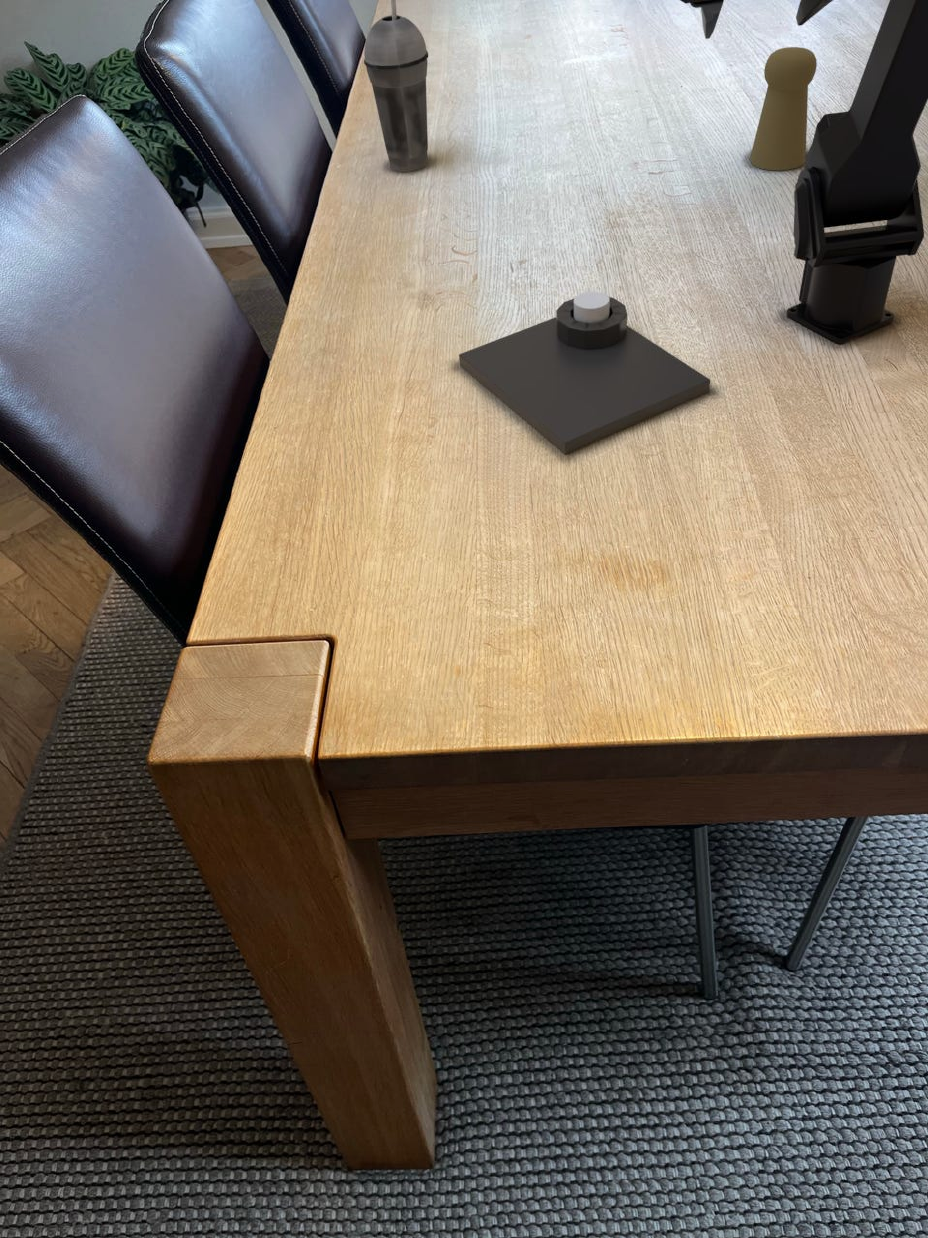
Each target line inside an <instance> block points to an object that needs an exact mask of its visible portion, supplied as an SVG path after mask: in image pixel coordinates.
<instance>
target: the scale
mask: <svg viewBox="0 0 928 1238" xmlns="http://www.w3.org/2000/svg"><path fill="white" fill-rule="evenodd" d="M608 297H609V299H610V305H609V318H608V319H606V320H604V321H601V322H598V323H584V322H579V321H576V320H575V319H574V298H571V299H568V300H566V301H564V302H562V304H561V305H560V306H559V307H558V308H557V309H556V311H555V317H551V318H550V319H548V320H544V321H542V322H539V323H537V324H534V325H532V326H528V327H527V328H524V329H521V330H519V331H515V332H514V333H511V334H508V335H506V336H503V337H501V338H498V339H495V340H493V341H490V342H487V343H485V344H483V345H480V346H477V347H475V348H471V349H470V350H467V351H464V352H462V353H459V354H458V360H459V366H460V368H462V369H463V370H464V371H465V372H466V373H468V374H469V376H471V377H472V378H474V380H476V381H477V382H479V384H480V385H481V386H483V387H484V388H485V389H486V390H488V392H490V393H491V394H492V395H494V396H495V397H496V398H497V399H498V400H500V402H502V404H504V405H505V406H506V407H507V408H509V409H510V410H511V411H512V412H514V413H515V414H516V415H517V416H518V417H519V418H521V419H522V420H523V421H524V422H526V424H528V425H529V426H530V427H531V428H533V429H534V430H535V431H536V432H537V433H539V434H540V435H541V436H542V437H543V438H544V439H545V440H546V441H548V442H549V443H550V444H551V445H553V446H554V447H555V448H556V449H557V450H559V451H560V452H561V453H562V454H563V455H564V456H566V455H568V454H571V453H573V452H575V451H577V450H580V449H582V448H584V447H587V446H590V445H592V444H594V443H596V442H598V441H600V440H603V439H605V438H607V437H610V436H612V435H614V434H617V433H619V432H621V431H623V430H626V429H628V428H630V427H632V426H635V425H637V424H640V423H642V422H644V421H646V420H649V419H651V418H653V417H656V416H658V415H660V414H663V413H664V412H667V411H670V410H672V409H674V408H676V407H678V406H680V405H683V404H685V403H688V402H689V401H692V400H694V399H696V398H699V397H701V396H703V395H705V394H708V393H709V392H710V386H711V379H710V378H708V377H707V376H705V375H704V374H702V373H701V372H699V371H697V370H696V369H695V368H693V367H692V366H690V365H688V364H687V363H685V362H684V361H682V360H681V359H680V358H678V357H676V356H675V355H673V354H671V353H670V352H669V351H667V350H665V349H664V348H663V347H661V346H659V345H658V344H656V343H655V342H653V341H651V340H650V339H649V338H647V337H646V336H644V335H643V334H641V333H639V332H638V331H636V330H635V329H633V328H632V327H630V326H629V325H628V311H627V307H626V305H625V304H624V303H623V302H621V301H620V300H618V299H616V298H614V297H611V296H608Z"/></svg>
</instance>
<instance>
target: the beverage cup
mask: <svg viewBox="0 0 928 1238" xmlns="http://www.w3.org/2000/svg"><path fill="white" fill-rule="evenodd" d="M390 6H391V7H390V8H391V14H390V15H386V16H382V18H380V19H378V20H377V21H376V22H375V23H374V24H373V25H372V26H371V28H370V29H369V31H368V33H367V36H366V39H365V44H364V59H363V64H364V65H365V68H366V73H367V76H368V79H369V82H370V84H371V86H372V91H373V95H374V100H375V105H376V110H377V114H378V119H379V123H380V129H381V132H382V138H383V141H384V145H385V151H386V154H387V158H388V161H389V166H390V168H391V169H392V170H393V171H395V172H399V173H408V172H410V173H411V172H415V171H419V170H422V169H424V168H425V167H427V165H428V164H429V163H428V162H429V160H428V151H429V138H428V137H429V136H428V105H427V103H428V102H427V99H428V98H427V75H428V58H429V52H428V49H427V45H426V42H425V41H426V40H425V38H424V36H423V34H422V32H421V31H420V29H419V28H418V26H417V25H416V24H414V22H413V21H411V20H410V19H409V18H407V17H405V16H401V15H398V14H397V1H396V0H390Z"/></svg>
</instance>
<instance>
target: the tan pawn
mask: <svg viewBox="0 0 928 1238" xmlns="http://www.w3.org/2000/svg"><path fill="white" fill-rule="evenodd" d="M817 65H818V62H817V58H816V55H815V53H814V52H813V51H812V50H811V49H808V48H805V47H799V46H790V47H789V46H787V47H782V48H778V49H776V50H775V51H773V52H772V53H770V55H769V56H768V58H767V60H766V61H765V65H764V71H763V74H764V80H765V83H766V84H767V88H766V92H765V96H764V101H763V104H762V108H761V112H760V117H759V120H758V121H759V122H758V124H757V128H756V132H755V136H754V140H753V144H752V148H751V152H750V156H749V162H750V164H751V165H753V166H754V167H756V168H759V169H760V170H761V169H762V170H767V171H789V170H793V169H796V168H800V167H802V166H803V165H805V164H806V161H807V160H806V159H805V156H806V154H807V136H808V135H807V133H808V131H807V129H808V102H809V101H808V100H809V99H808V98H809V95H808V94H809V85H810V84H811V82H812V81H813V79H814V77H815V74H816V71H817Z"/></svg>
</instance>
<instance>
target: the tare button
mask: <svg viewBox="0 0 928 1238" xmlns="http://www.w3.org/2000/svg"><path fill="white" fill-rule="evenodd" d="M609 297H610V296H609V295H608V294H606V293H604V292H602V291H597V290H589V291H583V292H581V293H578V294H577V295H576V296H575V297H573V299H574V319H575V320H576V321H579V322H584V323H598V322H601V321H604V320H606V319H608V318H609V305H610V299H609Z"/></svg>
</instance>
